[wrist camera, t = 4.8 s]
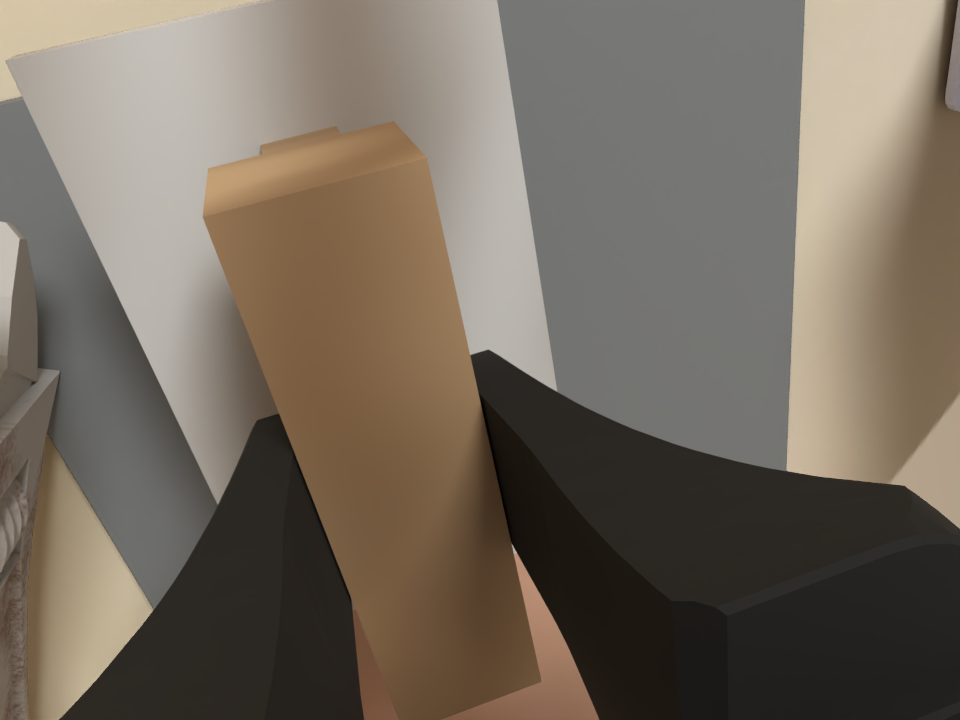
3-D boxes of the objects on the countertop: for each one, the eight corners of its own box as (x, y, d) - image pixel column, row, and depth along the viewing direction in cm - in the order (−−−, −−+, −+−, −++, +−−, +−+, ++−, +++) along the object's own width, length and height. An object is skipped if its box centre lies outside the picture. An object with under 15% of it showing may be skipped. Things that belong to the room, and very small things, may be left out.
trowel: (478, -49, 12) (612, -45, 8) (569, 514, 18) (671, 688, 14) (15, 55, 11) (-123, 125, 7) (278, 615, 17) (293, 835, 13)
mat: (792, -85, 19) (808, -85, 18) (771, 618, 32) (780, 629, 32) (-120, 129, 16) (-132, 136, 15) (281, 806, 29) (281, 822, 29)
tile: (541, 508, 25) (657, 722, 18) (547, 541, 26) (661, 758, 19) (300, 591, 24) (327, 852, 17) (314, 623, 24) (345, 885, 18)
